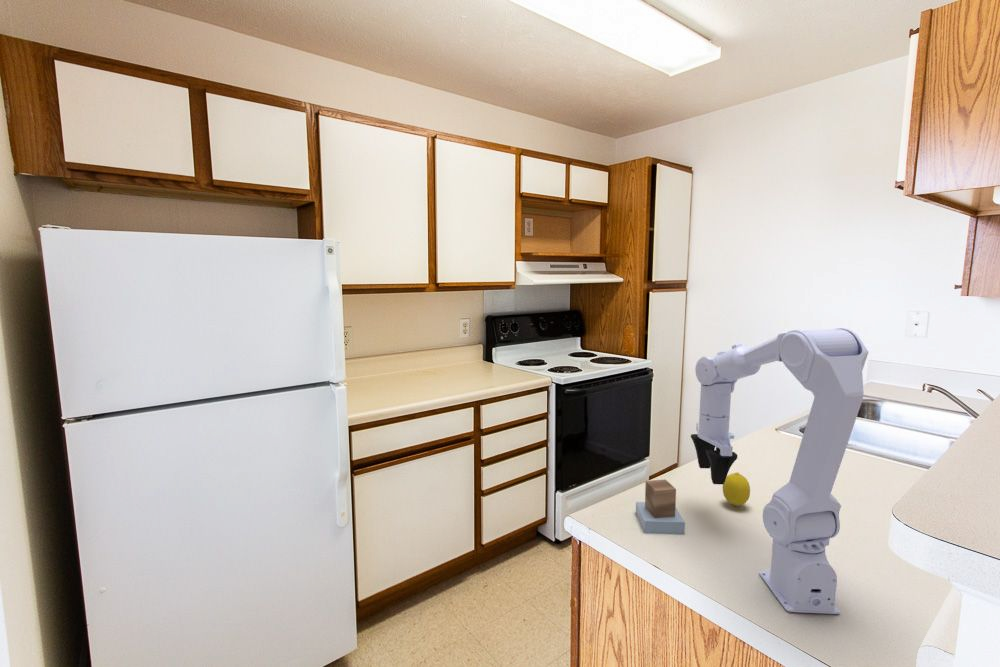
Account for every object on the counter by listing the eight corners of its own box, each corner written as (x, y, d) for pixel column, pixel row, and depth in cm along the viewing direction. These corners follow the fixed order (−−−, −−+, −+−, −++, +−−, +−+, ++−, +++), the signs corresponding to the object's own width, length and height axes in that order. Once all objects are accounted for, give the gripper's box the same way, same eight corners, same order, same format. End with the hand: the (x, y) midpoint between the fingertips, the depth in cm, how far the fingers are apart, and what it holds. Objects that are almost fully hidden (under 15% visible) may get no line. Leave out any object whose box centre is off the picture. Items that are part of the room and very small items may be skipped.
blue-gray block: (684, 536, 94) (684, 522, 94) (644, 534, 94) (644, 521, 94) (672, 515, 102) (673, 502, 101) (635, 514, 102) (636, 501, 102)
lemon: (752, 513, 101) (754, 479, 100) (725, 511, 103) (727, 477, 102) (744, 501, 107) (746, 468, 106) (718, 499, 108) (720, 466, 107)
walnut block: (675, 516, 96) (676, 489, 95) (654, 518, 95) (655, 490, 94) (664, 505, 100) (665, 479, 99) (644, 507, 100) (645, 481, 99)
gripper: (750, 425, 89) (745, 492, 91) (720, 403, 103) (717, 461, 105) (712, 424, 89) (708, 491, 91) (688, 403, 104) (685, 461, 105)
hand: (711, 475), depth 98 cm, fingers open, 7 cm apart
